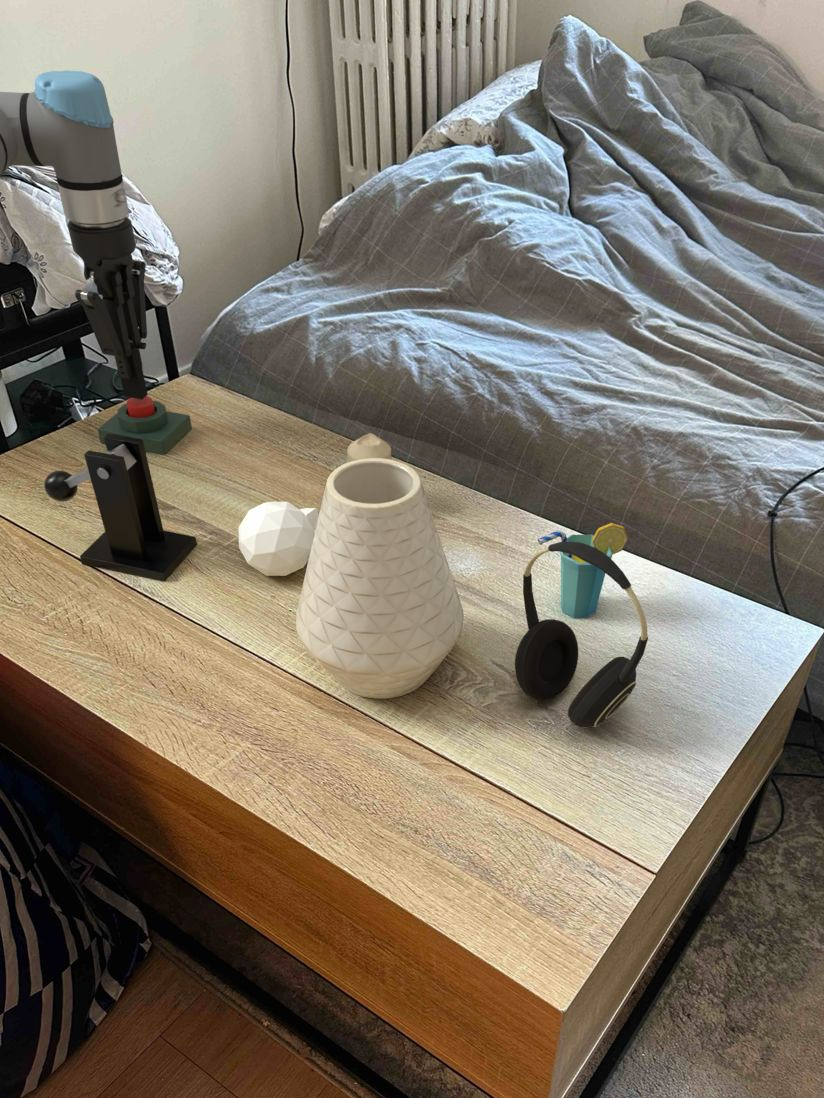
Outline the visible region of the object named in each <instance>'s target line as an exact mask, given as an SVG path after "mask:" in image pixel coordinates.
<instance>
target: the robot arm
mask: <svg viewBox="0 0 824 1098" xmlns="http://www.w3.org/2000/svg"><path fill="white" fill-rule="evenodd" d="M34 88H35V89H34V91H30V92H12V91H0V177H1V176H2V175H3V174H4V173H6V171H7V170H8V169H9V168H10V167H12V166H14V167H15V166H16V167H19V166H20V167H52V169H53V170H54V173H55V178H56V182H57V187H58V188H57V189H58V193H59V196H60V201H61V206H62V210H63V214H64V216H65V218H66V219H67V220H68V222H67V225H66V226H67V231H68V233H69V239H70V243H71V247H72V250H73V252H74V253H75V254H76V255H77V256H78V257H79V258H80V259H81V260H82V261H83V262H82V263H83V277H84V279H85V281H86V282H85V284H84V286H83V288H82V289H76V291H75V292H74V296H75V299H76V300H77V301H78V302H79V304H80V305H81V306H82V307H83V310H84V313H85V314H86V317H87V319H88V322H89V324H90V327H91V329H92V332H93V335H94V337H95V339H96V341H97V344H98V346H99V349H100V351H101V353H102V354H103V355H106V356H112V357H114V360H115V365H116V369H117V374H118V376H119V378H120V382H121V387H122V391H123V395H124V397H125V398H136V399H141V400H142V399H144V398H145V397H146V396H147V397H148V395H149V394H148V388H147V385H146V379H145V376H144V375H145V374H144V370H143V360H142V356H141V351H140V350H146V348H147V342H142V340H143V339H144V340H145V339H146V338H147V337H148V327H147V326H148V325H147V309H146V307H147V306H146V293H145V292H146V291H145V276H146V262H145V261H141V260H135V259H133V258H134V257H133V255H132V254H133V253H134V252H135V250H136V248H137V244H136V239H135V238H136V237H135V234H134V228H133V223H132V220H131V219H130V218H129V217H128V216H129V215H130V210H129V204H128V199H127V198H128V197H127V194H126V189H125V185H124V178H123V173H122V169H121V162H120V157H119V152H118V146H117V140H116V134H115V127H114V123H115V122H114V118H113V116H112V113H111V110H110V106H109V102H108V97H107V94H106V90H105V89H106V88H105V86H104V84H103V82H102V80H101V79H100V78H99V77H97V76H96V75H94V74H93V73H90V72H86V71H81V70H60V71H59V70H52V71H51V70H50V71H45V72H42V73H40V74H38V75H37V76H36V77H35V78H34Z"/></svg>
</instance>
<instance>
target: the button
mask: <svg viewBox="0 0 824 1098" xmlns="http://www.w3.org/2000/svg"><path fill="white" fill-rule="evenodd" d="M153 401H154V400H153V398H152V397H150V396H148V395H147V396H146V397H145V398H144V399H142V400H141V399H136V398H131V397H129V399H128V400H126V402H125V404H126V405H127V409H128V413H129V416H130V417H135V418H143V417H148V416H151V415H153V414H154V413H155V408H154V403H153Z"/></svg>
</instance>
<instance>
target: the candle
mask: <svg viewBox="0 0 824 1098" xmlns="http://www.w3.org/2000/svg"><path fill="white" fill-rule="evenodd" d="M346 449H347V450H346V451H347V452H346V454H347V463H348V462H351V461H355V460H360V459H367V458H382V459H390V460H392V448H391V445H390V444H388V443H387V442H386V441H385V440H383V439H381V438H380V437H378V436H377V435H375V434H374V433H370V432H369V433H366V434H364V435H362V436H361V437H359V438H357V439H355V440H353V441H352V442H351V443H350V444H349V445H348V446H347V448H346Z"/></svg>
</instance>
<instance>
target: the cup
mask: <svg viewBox="0 0 824 1098" xmlns="http://www.w3.org/2000/svg"><path fill="white" fill-rule="evenodd" d="M557 538H560V540H561V542H579V543H584V544H587V545H589V546H592V547H595V548H597V549H599V550H600V551H602V552H603V553H605V554H606V555H607V556H608V557H610V558H611V559H612V558H613V556H614V555H615V554H618V553H620V552H622V551H623V550H624V548H625V546H626V544H627V542H628V541H629V538H628V535H627V532H626V529H625V527H624V526H623V525H620V524H616V523H613V522H610V523H608V524H605V525H603V526H601V527H597V530H596V532H595V533H594V534H591V533H590V534H588V533H587V534H571V535H570V536H568V537H567V534H566V533H565V532H564V531H562V530H555V531H553V532H550V533H548V534H546V535H544V536H542V537H540V538H537V543H538V544H539V545H540V546H541V545H543V544H545V543H548V542H551V541H552V540H555V539H557ZM559 555H560V606H561V612H562V613H563V614H565V615H567V616H569V617H571V618H572V619H588V618H589V617H591V616H592V615H593V614H594V613H596V612H597V608H598V604H599V599H600V596H601V592H602V589H603V586H604V585H603V584H604V580H605V578H606V577H605V576H606V573H604V572H603V571H602V570H601V569H599V568H597V567H596V566H594V565H592V564H589V563H587V562H585V561H583V560H582V559H580V558H578V557H576V556H574V555H572V554H569V553H565V552H559Z"/></svg>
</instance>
